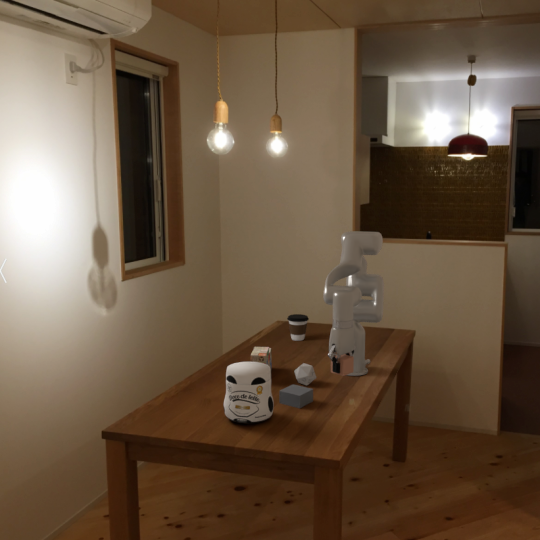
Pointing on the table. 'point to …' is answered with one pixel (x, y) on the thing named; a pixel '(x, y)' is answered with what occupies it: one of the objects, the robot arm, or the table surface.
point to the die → (305, 374)
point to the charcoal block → (296, 396)
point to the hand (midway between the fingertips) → (342, 369)
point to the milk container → (248, 392)
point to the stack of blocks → (262, 355)
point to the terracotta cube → (345, 365)
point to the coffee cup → (297, 326)
